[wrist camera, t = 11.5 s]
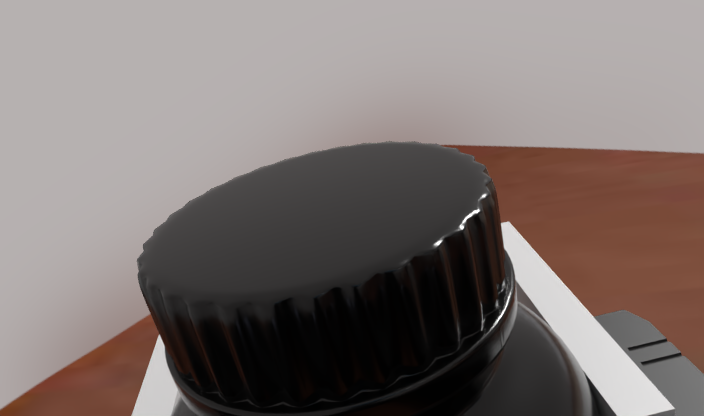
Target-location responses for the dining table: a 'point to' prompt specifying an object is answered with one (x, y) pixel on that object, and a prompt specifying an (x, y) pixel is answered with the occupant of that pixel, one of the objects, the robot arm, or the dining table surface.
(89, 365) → the dining table surface
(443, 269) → the supplement bottle
